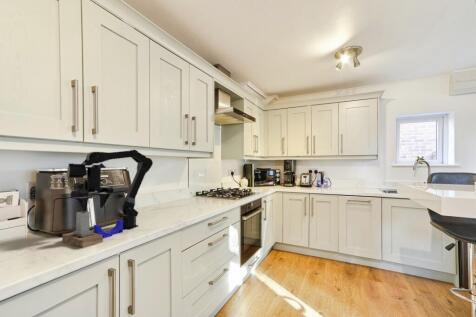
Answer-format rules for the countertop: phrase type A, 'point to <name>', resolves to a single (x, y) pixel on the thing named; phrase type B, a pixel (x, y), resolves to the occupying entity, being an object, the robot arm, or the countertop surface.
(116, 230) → the cable clip
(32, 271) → the countertop surface
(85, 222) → the grey tower on plinth
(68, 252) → the countertop surface
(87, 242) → the rail
